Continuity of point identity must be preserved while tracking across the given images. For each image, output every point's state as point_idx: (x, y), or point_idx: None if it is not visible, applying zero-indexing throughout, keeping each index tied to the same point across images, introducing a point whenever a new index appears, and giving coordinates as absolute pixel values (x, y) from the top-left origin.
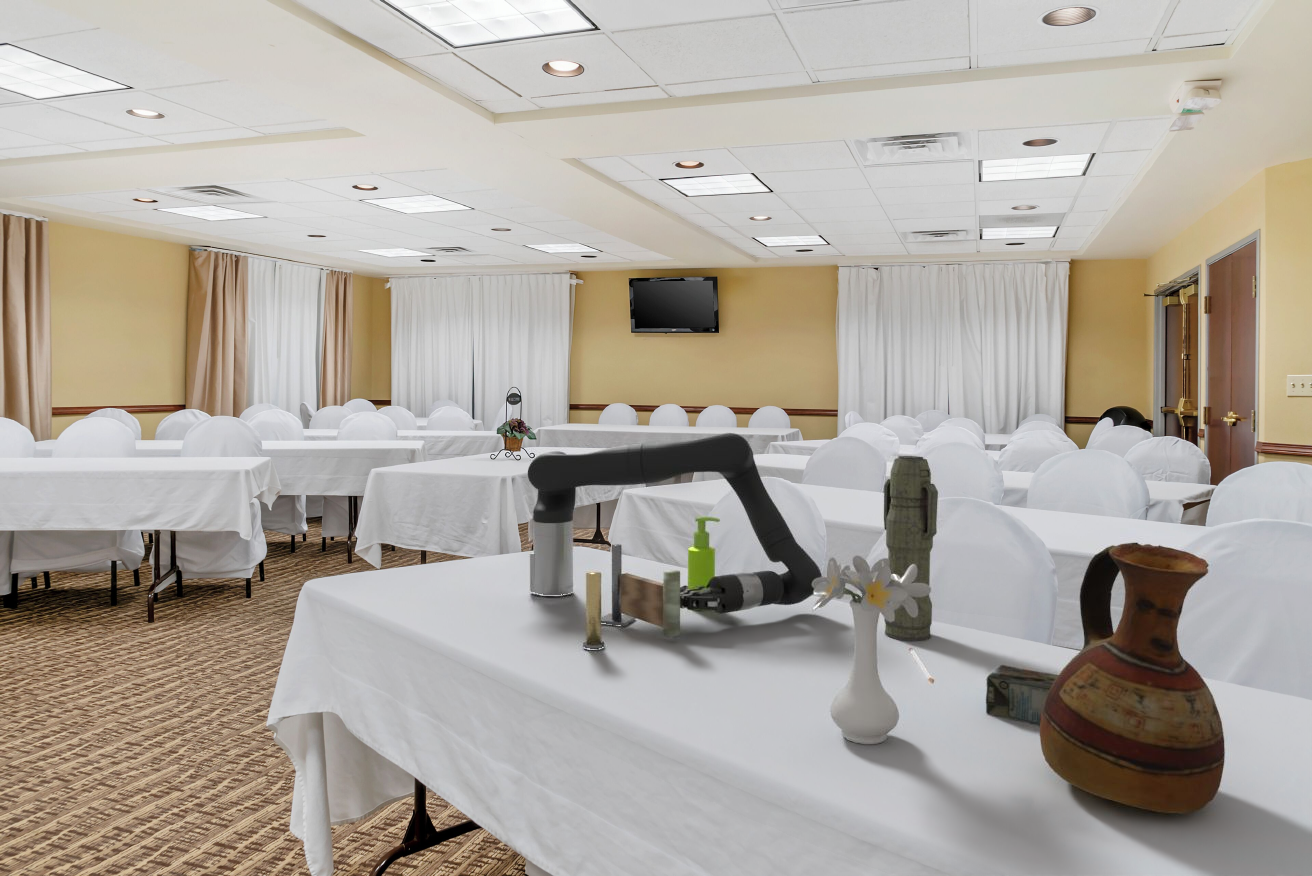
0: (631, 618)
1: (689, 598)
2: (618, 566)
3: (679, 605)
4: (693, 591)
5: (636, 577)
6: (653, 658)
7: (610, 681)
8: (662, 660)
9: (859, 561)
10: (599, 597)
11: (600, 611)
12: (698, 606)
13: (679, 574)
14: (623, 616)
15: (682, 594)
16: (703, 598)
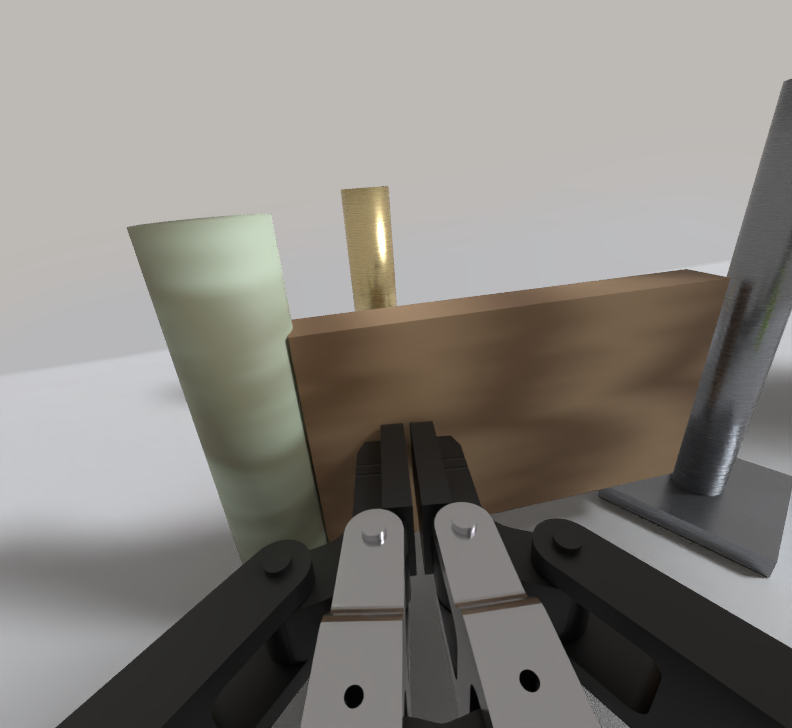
0: (704, 529)
1: (261, 557)
2: (749, 230)
3: (208, 460)
4: (364, 648)
5: (587, 288)
6: (195, 469)
7: (168, 383)
8: (157, 482)
9: None
10: (351, 267)
11: (358, 310)
12: (234, 724)
13: (134, 247)
14: (743, 510)
15: (381, 528)
16: (103, 696)
